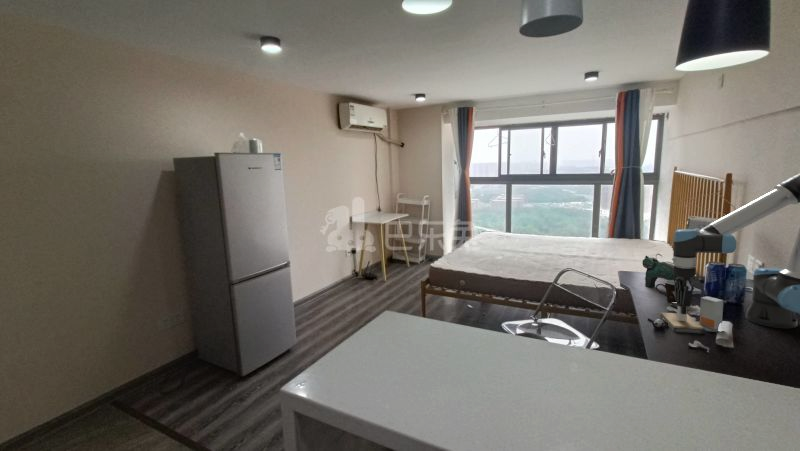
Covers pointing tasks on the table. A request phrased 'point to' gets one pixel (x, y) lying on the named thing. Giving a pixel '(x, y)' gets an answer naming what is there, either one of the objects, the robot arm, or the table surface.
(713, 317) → the skincare box
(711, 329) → the rubber mat
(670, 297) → the coffee mug
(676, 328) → the grey picture frame
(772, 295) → the robot arm
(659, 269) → the ceramic cat
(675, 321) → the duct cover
